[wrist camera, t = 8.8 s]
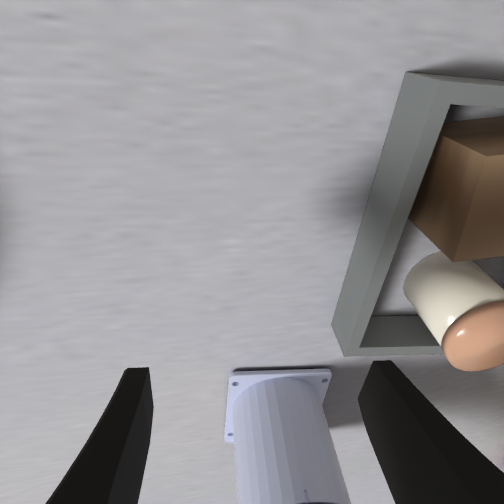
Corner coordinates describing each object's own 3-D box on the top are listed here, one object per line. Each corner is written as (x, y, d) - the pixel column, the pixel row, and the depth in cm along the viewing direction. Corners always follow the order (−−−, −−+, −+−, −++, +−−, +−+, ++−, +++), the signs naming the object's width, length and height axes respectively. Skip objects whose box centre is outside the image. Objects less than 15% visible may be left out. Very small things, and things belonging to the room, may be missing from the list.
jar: (454, 306, 25) (509, 370, 20) (392, 305, 24) (434, 371, 19) (486, 250, 22) (557, 310, 18) (417, 247, 21) (473, 309, 17)
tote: (495, 322, 26) (523, 351, 24) (331, 324, 24) (344, 356, 22) (645, 93, 17) (712, 104, 15) (405, 71, 16) (439, 80, 13)
